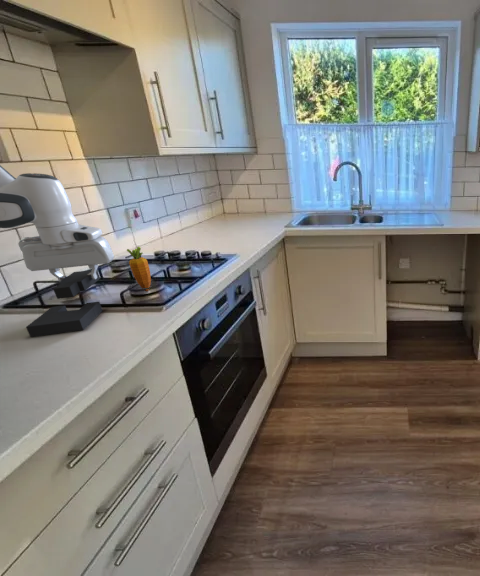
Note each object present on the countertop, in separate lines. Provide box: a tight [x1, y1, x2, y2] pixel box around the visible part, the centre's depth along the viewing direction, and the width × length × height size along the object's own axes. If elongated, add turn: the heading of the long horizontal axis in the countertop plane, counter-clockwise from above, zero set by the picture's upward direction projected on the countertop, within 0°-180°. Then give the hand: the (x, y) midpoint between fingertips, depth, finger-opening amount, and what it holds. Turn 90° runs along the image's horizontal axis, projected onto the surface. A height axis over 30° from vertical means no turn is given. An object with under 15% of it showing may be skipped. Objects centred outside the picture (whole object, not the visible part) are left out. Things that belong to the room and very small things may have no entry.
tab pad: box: [52, 269, 101, 300], centre depth 104 cm, size 6×14×3 cm, turn 16°
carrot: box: [126, 246, 152, 292], centre depth 115 cm, size 5×5×15 cm
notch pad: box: [25, 301, 104, 338], centre depth 98 cm, size 12×12×3 cm
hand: (79, 280), depth 105 cm, fingers closed on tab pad, 6 cm apart
